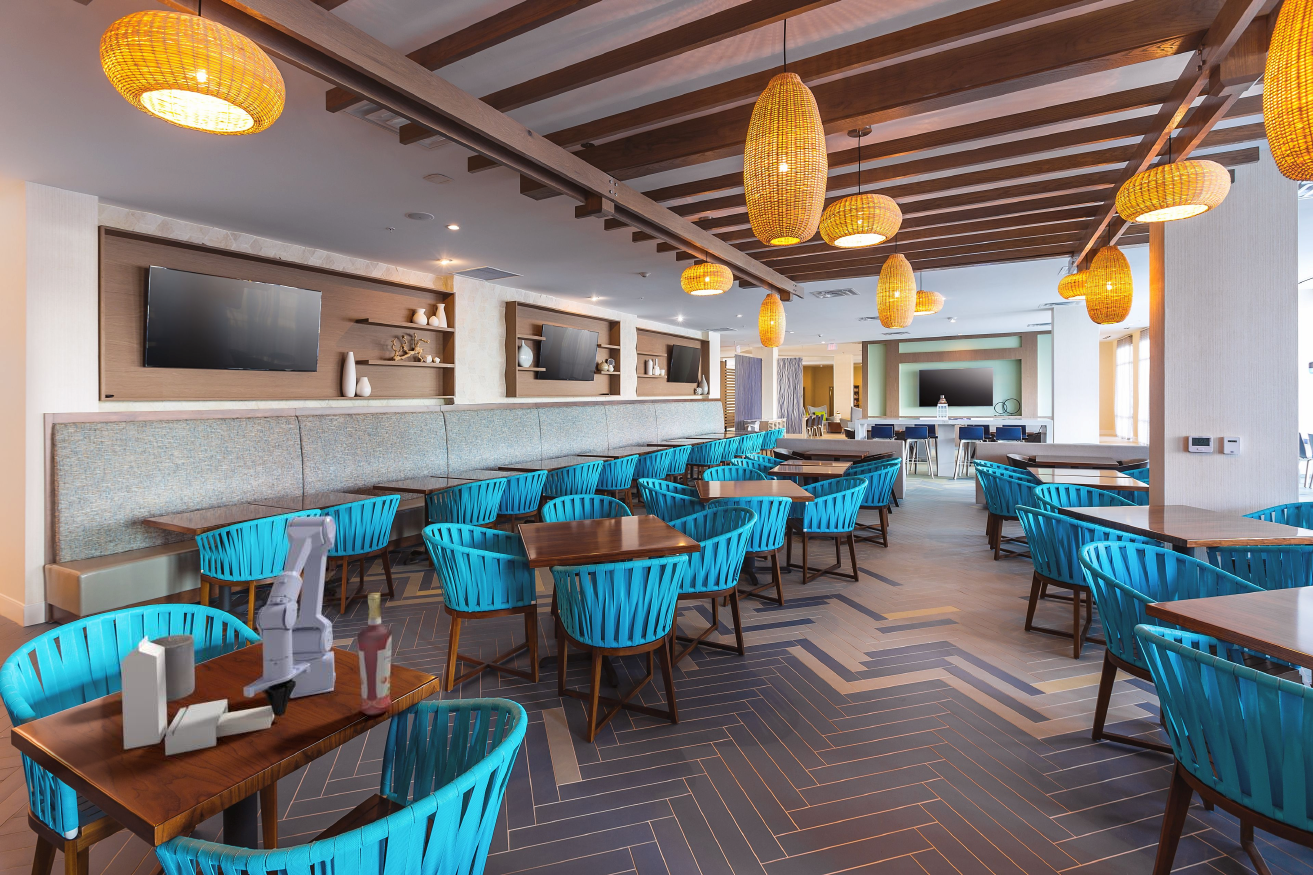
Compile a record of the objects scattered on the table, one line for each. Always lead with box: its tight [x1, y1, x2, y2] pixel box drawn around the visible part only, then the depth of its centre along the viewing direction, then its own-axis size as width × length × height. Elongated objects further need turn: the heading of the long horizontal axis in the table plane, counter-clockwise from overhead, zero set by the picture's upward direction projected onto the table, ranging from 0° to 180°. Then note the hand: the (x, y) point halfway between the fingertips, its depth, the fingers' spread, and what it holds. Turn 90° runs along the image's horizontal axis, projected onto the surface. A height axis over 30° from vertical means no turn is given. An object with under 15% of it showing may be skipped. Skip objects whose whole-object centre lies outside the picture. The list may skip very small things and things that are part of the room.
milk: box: [120, 635, 168, 750], centre depth 131 cm, size 6×6×22 cm
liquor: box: [357, 592, 393, 717], centre depth 143 cm, size 7×7×28 cm
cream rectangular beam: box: [216, 705, 275, 738], centre depth 137 cm, size 10×6×2 cm, turn 114°
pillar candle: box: [149, 634, 196, 703], centre depth 152 cm, size 10×10×15 cm
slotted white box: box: [164, 698, 229, 756], centre depth 133 cm, size 8×13×4 cm, turn 26°
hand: (279, 714), depth 140 cm, fingers closed
